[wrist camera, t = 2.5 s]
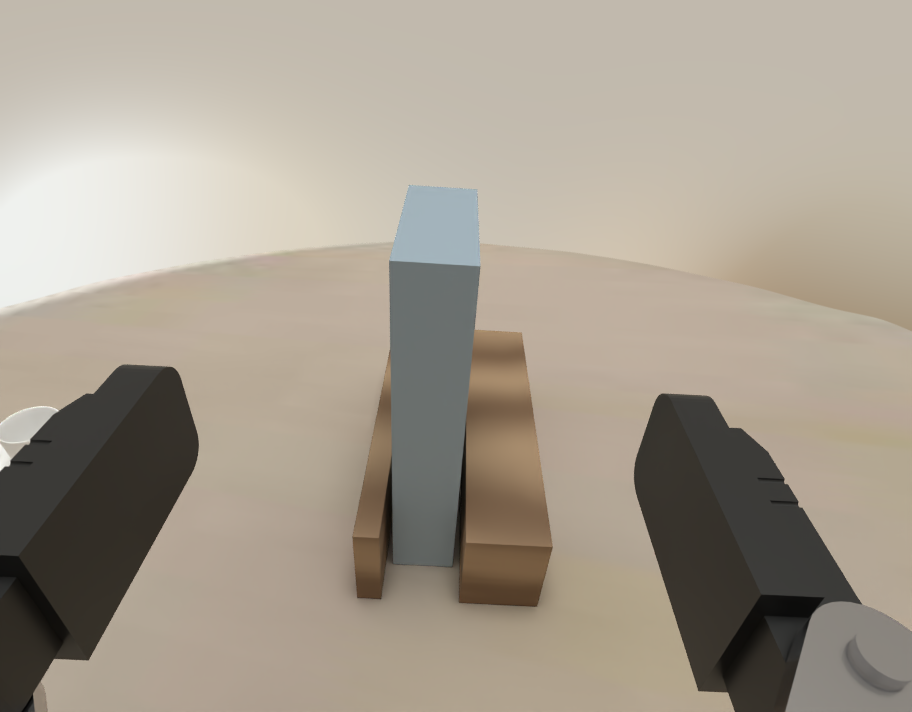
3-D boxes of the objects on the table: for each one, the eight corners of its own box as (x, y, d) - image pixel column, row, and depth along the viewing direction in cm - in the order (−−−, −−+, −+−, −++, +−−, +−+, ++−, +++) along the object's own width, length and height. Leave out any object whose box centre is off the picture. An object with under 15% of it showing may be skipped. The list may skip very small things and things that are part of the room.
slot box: (537, 606, 28) (552, 547, 25) (357, 597, 28) (352, 536, 25) (513, 386, 43) (521, 332, 40) (395, 379, 43) (394, 325, 40)
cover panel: (452, 566, 30) (480, 266, 19) (393, 564, 30) (389, 260, 19) (455, 458, 36) (477, 189, 26) (406, 455, 36) (409, 185, 26)
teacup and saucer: (-70, 492, 32) (-107, 442, 30) (59, 411, 38) (36, 364, 36) (34, 548, 30) (2, 498, 27) (154, 453, 36) (137, 405, 33)
